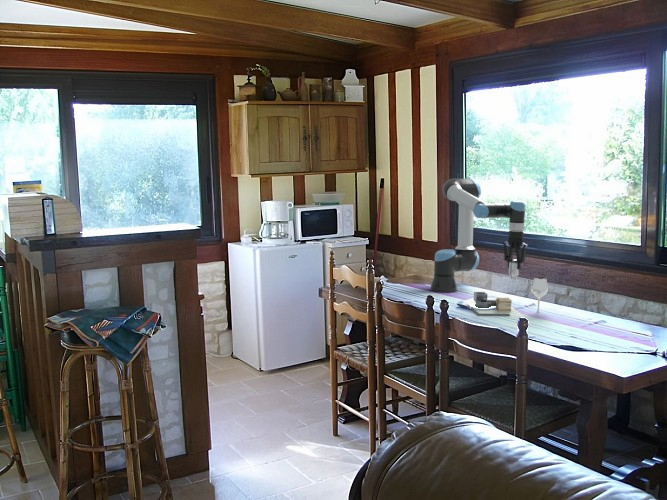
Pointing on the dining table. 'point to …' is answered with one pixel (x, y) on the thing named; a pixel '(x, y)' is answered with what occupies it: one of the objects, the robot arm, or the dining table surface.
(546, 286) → the wineglass
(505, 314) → the deck
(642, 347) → the dining table surface
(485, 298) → the crank wheel
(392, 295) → the dining table surface
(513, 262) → the crank pin
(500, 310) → the crate
